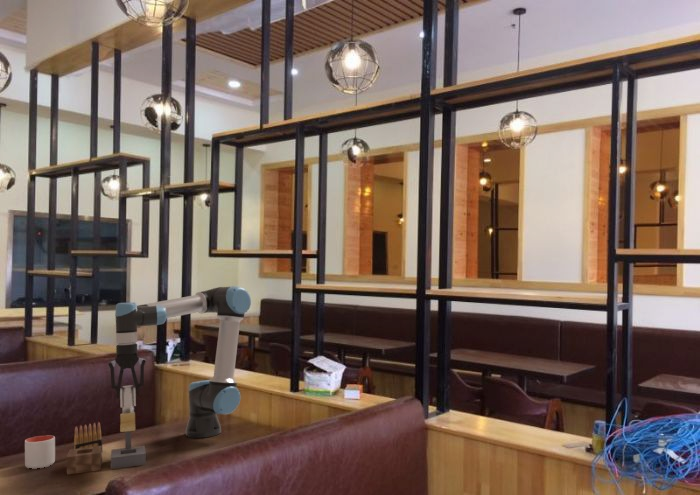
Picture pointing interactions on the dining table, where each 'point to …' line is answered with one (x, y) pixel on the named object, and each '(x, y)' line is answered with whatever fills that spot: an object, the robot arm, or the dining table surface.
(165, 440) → the dining table surface
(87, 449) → the frame
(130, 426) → the latch
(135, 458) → the socket block
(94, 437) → the ammunition clip
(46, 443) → the cup
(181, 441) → the dining table surface
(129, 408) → the peg
